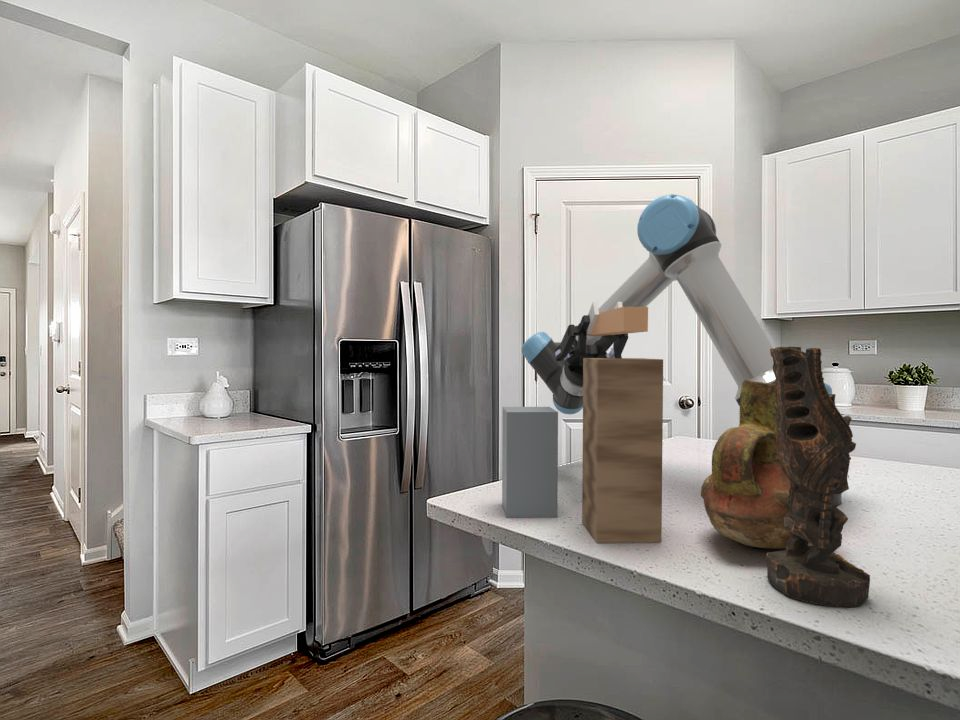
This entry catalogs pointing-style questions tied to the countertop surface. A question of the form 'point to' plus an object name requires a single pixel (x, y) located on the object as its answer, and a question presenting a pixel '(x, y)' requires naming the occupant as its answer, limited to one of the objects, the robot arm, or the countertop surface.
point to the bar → (621, 321)
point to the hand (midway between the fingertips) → (608, 308)
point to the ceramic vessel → (749, 475)
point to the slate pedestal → (529, 462)
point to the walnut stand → (622, 449)
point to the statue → (812, 485)
